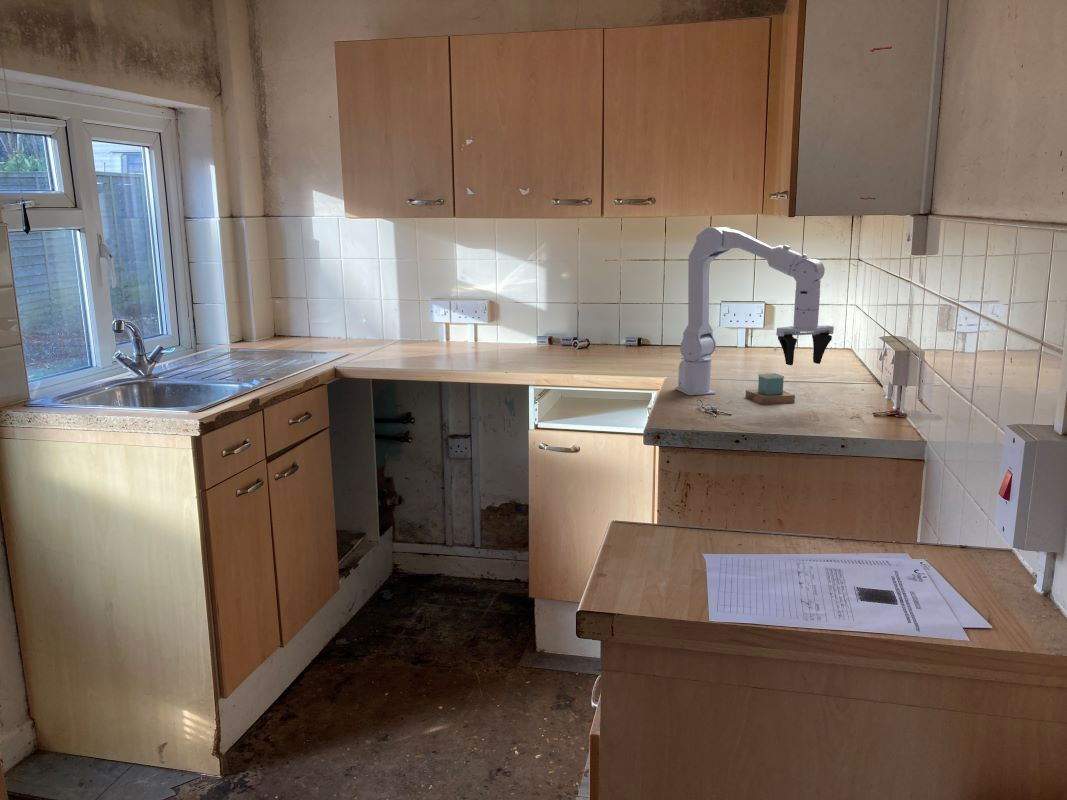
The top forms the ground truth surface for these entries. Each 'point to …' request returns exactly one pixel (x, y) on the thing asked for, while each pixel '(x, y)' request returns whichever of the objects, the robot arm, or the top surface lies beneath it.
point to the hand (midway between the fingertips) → (803, 364)
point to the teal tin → (770, 383)
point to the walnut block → (770, 397)
